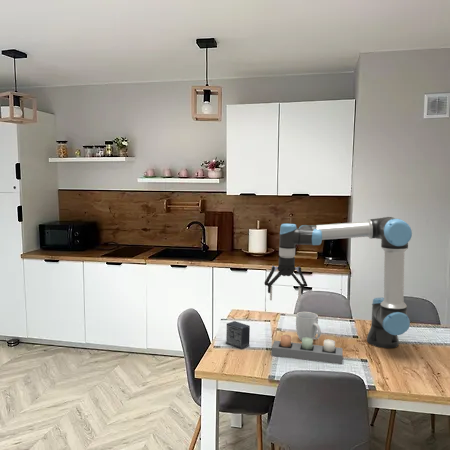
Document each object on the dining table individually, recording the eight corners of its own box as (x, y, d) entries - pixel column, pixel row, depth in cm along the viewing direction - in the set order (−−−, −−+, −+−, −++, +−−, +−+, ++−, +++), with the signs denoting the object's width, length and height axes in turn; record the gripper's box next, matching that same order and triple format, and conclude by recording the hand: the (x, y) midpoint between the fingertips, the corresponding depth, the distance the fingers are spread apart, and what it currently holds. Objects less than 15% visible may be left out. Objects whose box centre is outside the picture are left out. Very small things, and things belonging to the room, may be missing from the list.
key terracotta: (291, 343, 206) (291, 335, 206) (290, 347, 202) (290, 339, 201) (281, 342, 208) (281, 334, 207) (279, 346, 203) (279, 338, 202)
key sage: (312, 345, 204) (313, 337, 203) (312, 350, 199) (312, 341, 199) (302, 344, 205) (302, 336, 205) (301, 348, 200) (301, 340, 200)
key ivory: (334, 348, 201) (335, 340, 201) (334, 352, 196) (334, 344, 196) (323, 347, 203) (324, 338, 202) (323, 351, 198) (323, 342, 197)
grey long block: (342, 356, 203) (342, 348, 202) (342, 364, 194) (342, 355, 194) (274, 348, 211) (274, 340, 210) (271, 355, 202) (271, 347, 202)
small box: (250, 345, 214) (250, 325, 213) (241, 349, 209) (242, 328, 208) (234, 340, 221) (234, 320, 220) (225, 343, 216) (225, 323, 215)
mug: (327, 343, 218) (328, 318, 217) (311, 348, 212) (312, 322, 211) (306, 334, 230) (307, 310, 229) (290, 338, 224) (291, 313, 223)
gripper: (311, 255, 208) (309, 298, 211) (260, 254, 209) (258, 297, 211) (314, 258, 201) (312, 303, 203) (260, 257, 201) (259, 301, 204)
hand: (285, 300), depth 207 cm, fingers open, 13 cm apart
